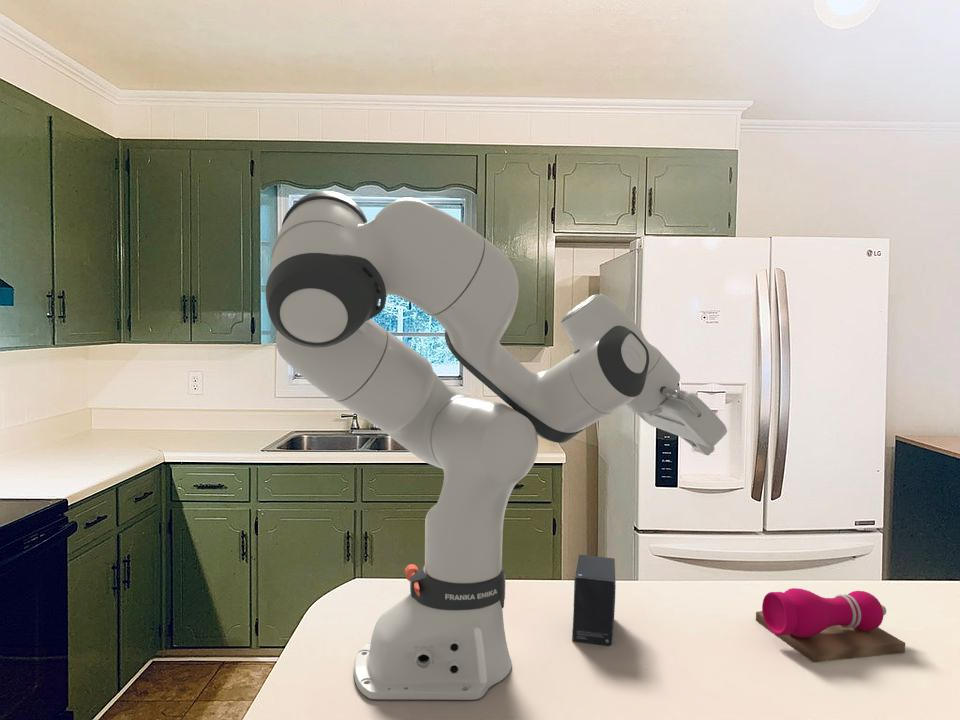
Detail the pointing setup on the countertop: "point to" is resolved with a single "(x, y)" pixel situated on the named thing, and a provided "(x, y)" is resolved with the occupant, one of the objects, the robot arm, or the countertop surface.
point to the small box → (594, 600)
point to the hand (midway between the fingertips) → (706, 450)
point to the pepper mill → (820, 612)
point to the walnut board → (842, 643)
